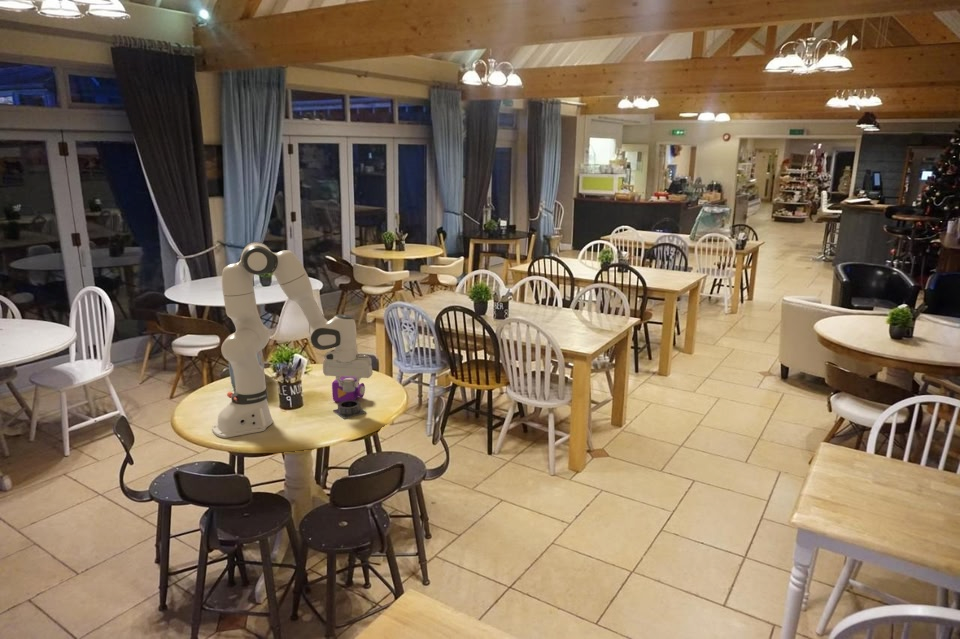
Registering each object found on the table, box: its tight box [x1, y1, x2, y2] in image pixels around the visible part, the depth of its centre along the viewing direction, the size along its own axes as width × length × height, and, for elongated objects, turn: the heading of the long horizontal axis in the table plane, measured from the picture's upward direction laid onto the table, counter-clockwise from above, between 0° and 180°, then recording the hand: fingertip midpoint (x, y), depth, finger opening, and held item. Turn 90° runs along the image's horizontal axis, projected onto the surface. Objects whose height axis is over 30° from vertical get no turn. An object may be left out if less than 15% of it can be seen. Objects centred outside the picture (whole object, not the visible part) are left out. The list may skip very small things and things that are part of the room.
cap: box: [342, 378, 355, 392], centre depth 267 cm, size 5×5×4 cm
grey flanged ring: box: [332, 399, 367, 420], centre depth 269 cm, size 10×10×4 cm
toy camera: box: [331, 377, 366, 403], centre depth 283 cm, size 11×14×10 cm
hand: (348, 386), depth 267 cm, fingers closed on cap, 5 cm apart
